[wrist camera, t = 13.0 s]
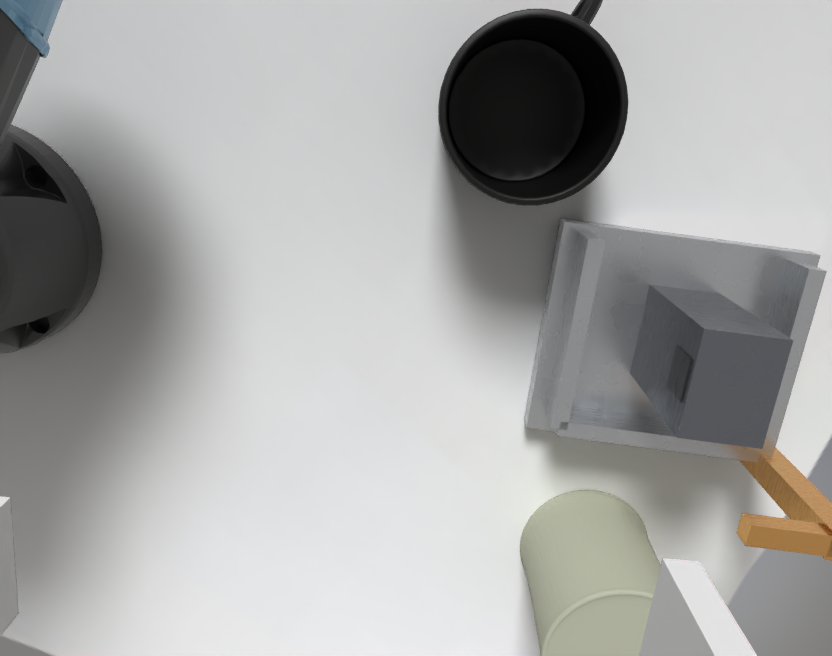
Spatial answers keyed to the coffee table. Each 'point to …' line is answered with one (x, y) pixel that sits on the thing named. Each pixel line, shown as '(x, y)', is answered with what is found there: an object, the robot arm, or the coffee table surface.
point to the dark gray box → (709, 366)
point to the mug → (534, 105)
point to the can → (589, 575)
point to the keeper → (616, 341)
